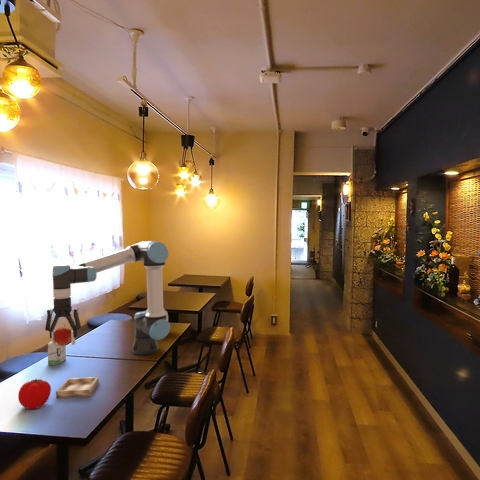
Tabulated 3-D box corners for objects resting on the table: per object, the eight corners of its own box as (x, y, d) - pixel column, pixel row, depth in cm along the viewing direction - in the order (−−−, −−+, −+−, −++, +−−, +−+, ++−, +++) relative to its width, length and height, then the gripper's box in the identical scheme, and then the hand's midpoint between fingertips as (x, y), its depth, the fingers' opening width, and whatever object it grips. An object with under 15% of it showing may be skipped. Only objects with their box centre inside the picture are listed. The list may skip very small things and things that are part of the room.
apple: (51, 345, 182) (50, 324, 181) (68, 341, 187) (68, 321, 187) (57, 349, 176) (57, 327, 176) (75, 345, 182) (75, 324, 181)
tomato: (16, 415, 149) (15, 387, 149) (20, 403, 160) (19, 376, 159) (50, 409, 154) (49, 381, 153) (52, 397, 164) (51, 372, 164)
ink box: (58, 359, 211) (57, 338, 211) (66, 359, 210) (65, 338, 210) (47, 365, 203) (46, 343, 202) (56, 365, 202) (55, 343, 201)
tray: (98, 383, 179) (98, 376, 178) (89, 396, 165) (89, 389, 165) (67, 384, 177) (67, 378, 177) (56, 398, 163) (55, 391, 163)
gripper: (87, 295, 185) (89, 341, 186) (42, 296, 184) (44, 342, 185) (82, 298, 178) (83, 346, 179) (35, 299, 176) (37, 347, 177)
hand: (63, 344), depth 182 cm, fingers closed on apple, 8 cm apart
